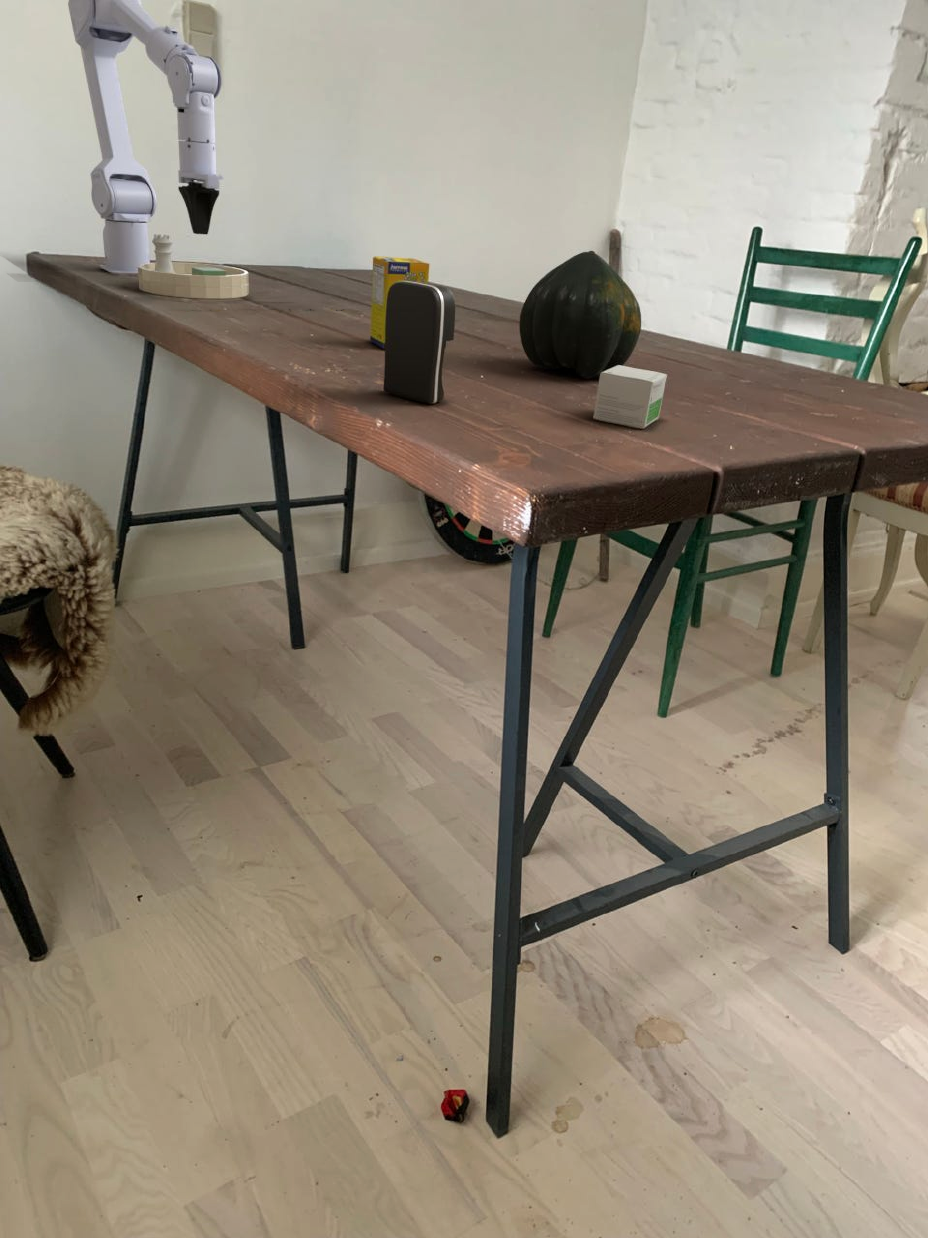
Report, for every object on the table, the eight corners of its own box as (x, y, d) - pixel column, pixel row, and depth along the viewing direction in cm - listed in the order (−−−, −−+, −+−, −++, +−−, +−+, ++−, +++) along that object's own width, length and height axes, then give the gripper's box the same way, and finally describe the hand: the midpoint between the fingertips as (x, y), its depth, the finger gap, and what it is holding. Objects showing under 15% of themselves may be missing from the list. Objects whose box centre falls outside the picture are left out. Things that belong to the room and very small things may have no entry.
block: (192, 293, 146) (191, 267, 144) (215, 293, 148) (214, 267, 146) (203, 297, 143) (202, 270, 141) (227, 296, 145) (226, 270, 144)
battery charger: (454, 401, 95) (463, 286, 90) (430, 406, 92) (438, 287, 87) (403, 388, 99) (409, 277, 94) (380, 392, 96) (385, 278, 91)
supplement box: (425, 350, 120) (430, 262, 116) (382, 349, 118) (385, 260, 113) (411, 342, 125) (415, 257, 121) (369, 341, 123) (372, 255, 118)
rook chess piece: (149, 285, 150) (145, 233, 146) (176, 286, 152) (174, 234, 148) (152, 289, 146) (149, 235, 143) (181, 290, 148) (178, 237, 144)
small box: (645, 430, 91) (653, 380, 89) (591, 419, 93) (598, 371, 91) (660, 419, 95) (669, 372, 93) (608, 410, 97) (616, 363, 95)
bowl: (126, 286, 151) (124, 260, 149) (226, 287, 160) (225, 263, 158) (158, 302, 138) (156, 274, 136) (264, 302, 147) (264, 276, 146)
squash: (565, 341, 103) (636, 236, 104) (479, 323, 113) (545, 228, 114) (617, 416, 113) (681, 319, 114) (534, 394, 123) (594, 306, 124)
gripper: (237, 145, 142) (239, 239, 148) (206, 143, 153) (209, 230, 159) (192, 141, 138) (196, 237, 144) (164, 138, 149) (168, 228, 155)
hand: (200, 233), depth 151 cm, fingers closed
